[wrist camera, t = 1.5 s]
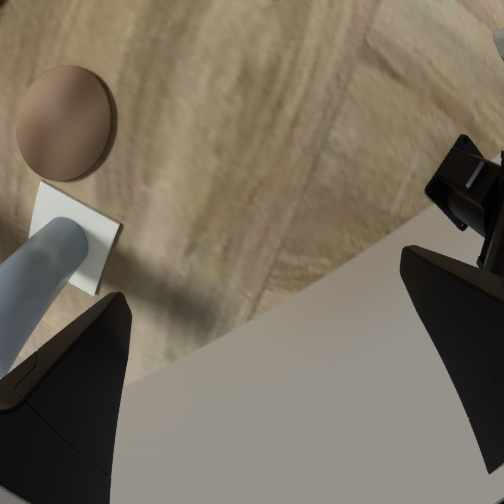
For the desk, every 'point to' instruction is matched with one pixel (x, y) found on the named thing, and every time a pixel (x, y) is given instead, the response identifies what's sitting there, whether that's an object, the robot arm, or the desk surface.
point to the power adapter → (499, 41)
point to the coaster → (63, 123)
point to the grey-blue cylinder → (36, 282)
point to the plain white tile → (91, 222)
